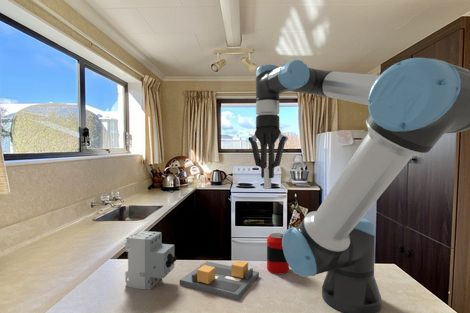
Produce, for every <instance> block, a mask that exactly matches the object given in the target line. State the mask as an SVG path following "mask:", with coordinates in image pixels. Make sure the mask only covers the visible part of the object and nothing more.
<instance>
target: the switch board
mask: <svg viewBox="0 0 470 313" xmlns="http://www.w3.org/2000/svg"><path fill="white" fill-rule="evenodd" d="M204 265H207V266H211V267H215V279H214V280H213V281H212V282H210V283H209V284H206V283H202V282H198V281H197V270H198V269H199V268H201V267H202V266H204ZM259 277H260V273H259V271H255V270H254V268H249V269H248V271H247V272H246V273H245V277H244V278H240V277H235V276H232V265H226V264H222V263H219V262H218V263H217V262H214V261H213V262H212V261H205V262H204V263H203V264H201V265H199V266H198V267H196V268H195V269H194V270H192V271H191V272H189V273H188V274H187V275H185V276H183V277H181V278H180V279H179V285H180V286H184V287H187V288H192V289H195V290H199V291H202V292H206V293H211V294H213V295H218V296H220V297H226V298H229V299H232V300H237V301H239V299H241V297H242V296H243V295H244V294H245V293H246V291H248V289H250V287H251V286H253V284H254V283H255V282H256V280H257V279H258V278H259Z"/></svg>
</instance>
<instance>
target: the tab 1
mask: <svg viewBox="0 0 470 313" xmlns="http://www.w3.org/2000/svg"><path fill="white" fill-rule="evenodd" d="M214 279H215V267H211V266H207V265H204V266H202V267H201V268H199V269H198V270H197V281H198V282H202V283H206V284H209V283H210V282H212V281H213V280H214Z"/></svg>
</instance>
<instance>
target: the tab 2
mask: <svg viewBox="0 0 470 313" xmlns="http://www.w3.org/2000/svg"><path fill="white" fill-rule="evenodd" d="M231 266H232V276H235V277H240V278H244V277H245V273H246V272H247V271H248V270H249V262H248V261H242V260H235V261H234V262H233V263H232V264H231Z"/></svg>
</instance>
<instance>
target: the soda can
mask: <svg viewBox="0 0 470 313" xmlns="http://www.w3.org/2000/svg"><path fill="white" fill-rule="evenodd" d="M283 235H284V233H281V232H274V233H270V234H269V236H268V237H267V239H266V269H267V270H268V272H269V273H272V274H274V275H275V274H276V275H283V274H286V273H288V272H289V271H290V266H289V265H288V263H287V261H286V258H285V256H284V252H283V247H282V239H283Z"/></svg>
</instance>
